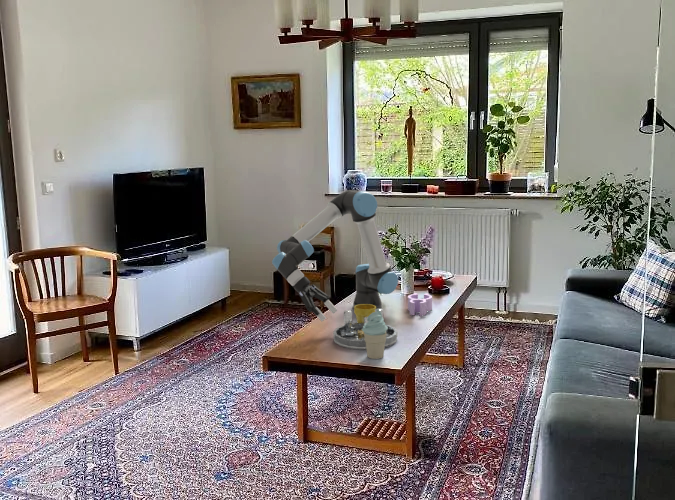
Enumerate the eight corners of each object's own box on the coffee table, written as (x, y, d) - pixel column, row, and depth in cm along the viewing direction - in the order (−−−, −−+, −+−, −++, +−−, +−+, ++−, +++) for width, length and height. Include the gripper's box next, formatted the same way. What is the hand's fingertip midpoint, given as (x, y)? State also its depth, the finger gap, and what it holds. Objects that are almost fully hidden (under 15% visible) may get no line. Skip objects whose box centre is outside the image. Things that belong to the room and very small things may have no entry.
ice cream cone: (357, 357, 274) (356, 310, 271) (375, 350, 282) (375, 304, 278) (375, 362, 267) (375, 314, 264) (394, 355, 275) (393, 308, 271)
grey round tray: (347, 327, 315) (346, 302, 313) (405, 333, 305) (405, 307, 302) (323, 345, 290) (322, 318, 288) (385, 352, 279) (385, 324, 277)
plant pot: (378, 323, 321) (378, 304, 319) (373, 330, 311) (373, 309, 309) (357, 322, 323) (357, 303, 322) (352, 328, 314) (351, 308, 312)
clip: (429, 316, 332) (429, 303, 330) (404, 315, 335) (404, 302, 333) (433, 306, 351) (433, 293, 350) (409, 305, 354) (409, 292, 352)
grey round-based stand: (344, 331, 305) (343, 308, 303) (358, 333, 302) (358, 309, 300) (338, 336, 298) (337, 312, 296) (352, 337, 296) (352, 313, 294)
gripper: (305, 280, 318) (334, 313, 315) (281, 292, 295) (313, 328, 292) (314, 270, 315) (345, 303, 312) (292, 281, 292) (324, 317, 289)
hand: (330, 315), depth 302 cm, fingers open, 13 cm apart
